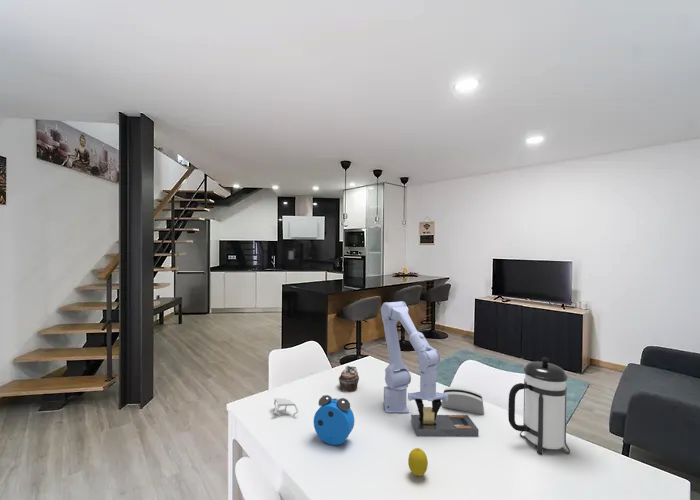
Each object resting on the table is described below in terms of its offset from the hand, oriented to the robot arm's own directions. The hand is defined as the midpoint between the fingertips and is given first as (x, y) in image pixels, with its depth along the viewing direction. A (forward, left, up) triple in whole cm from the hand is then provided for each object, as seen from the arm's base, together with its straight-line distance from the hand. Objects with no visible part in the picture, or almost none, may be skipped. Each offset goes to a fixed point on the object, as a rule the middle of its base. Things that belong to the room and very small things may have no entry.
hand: (427, 419), depth 119 cm
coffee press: (+37, -10, -4) cm, 38 cm away
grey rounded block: (+19, +15, -4) cm, 24 cm away
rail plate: (+6, 0, -3) cm, 7 cm away
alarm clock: (-34, -8, -4) cm, 36 cm away
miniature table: (-54, +10, -4) cm, 55 cm away
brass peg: (0, 0, -3) cm, 3 cm away
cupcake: (-28, +34, -4) cm, 45 cm away
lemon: (-9, -25, -4) cm, 27 cm away
